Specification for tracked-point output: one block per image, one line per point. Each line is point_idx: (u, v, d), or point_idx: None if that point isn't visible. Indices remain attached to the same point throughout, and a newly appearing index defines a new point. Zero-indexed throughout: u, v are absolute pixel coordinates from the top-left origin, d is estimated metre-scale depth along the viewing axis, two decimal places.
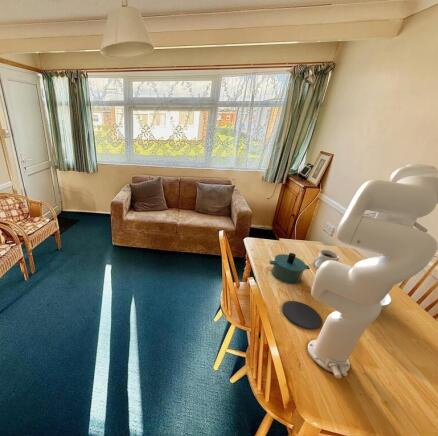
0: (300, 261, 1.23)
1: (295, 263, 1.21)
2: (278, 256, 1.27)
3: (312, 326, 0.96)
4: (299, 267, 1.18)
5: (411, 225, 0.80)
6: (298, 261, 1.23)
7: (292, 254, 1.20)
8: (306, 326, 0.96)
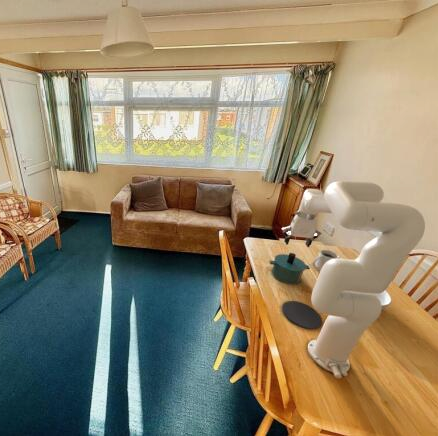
0: (300, 261, 1.23)
1: (295, 263, 1.21)
2: (278, 256, 1.27)
3: (312, 326, 0.96)
4: (299, 267, 1.18)
5: (314, 232, 1.10)
6: (298, 261, 1.23)
7: (292, 254, 1.20)
8: (306, 326, 0.96)
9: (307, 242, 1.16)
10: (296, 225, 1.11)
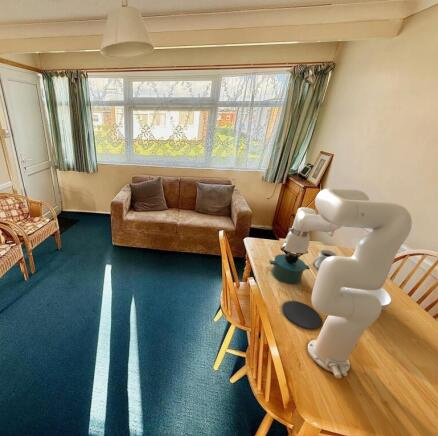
0: (300, 261, 1.23)
1: (295, 263, 1.21)
2: (278, 256, 1.27)
3: (312, 326, 0.96)
4: (299, 267, 1.18)
5: (307, 248, 1.14)
6: (298, 261, 1.23)
7: (292, 254, 1.20)
8: (306, 326, 0.96)
9: None
10: (290, 241, 1.15)
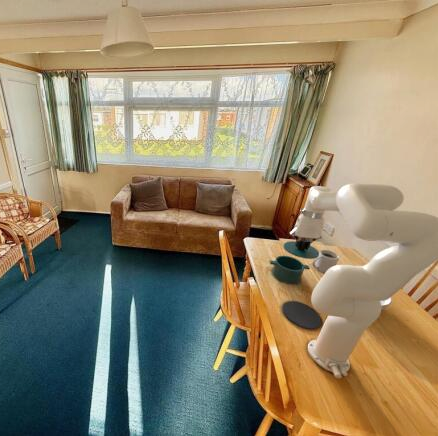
0: (312, 248, 1.11)
1: (307, 250, 1.10)
2: (287, 243, 1.16)
3: (312, 326, 0.96)
4: (311, 254, 1.07)
5: (320, 232, 1.03)
6: (310, 248, 1.11)
7: (303, 240, 1.09)
8: (306, 326, 0.96)
9: None
10: (301, 225, 1.04)
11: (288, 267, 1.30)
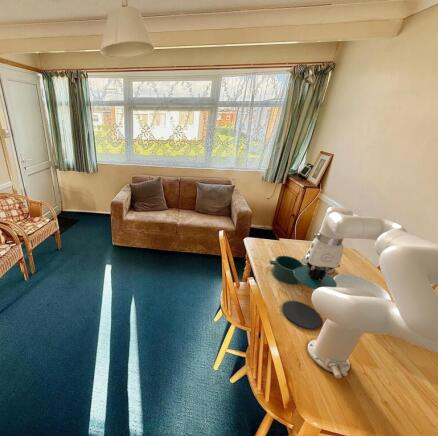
0: (327, 276, 0.95)
1: None
2: (298, 269, 0.99)
3: (312, 326, 0.96)
4: (327, 285, 0.90)
5: (339, 260, 0.86)
6: (325, 277, 0.95)
7: (318, 268, 0.92)
8: (306, 326, 0.96)
9: None
10: (316, 252, 0.87)
11: (288, 267, 1.30)
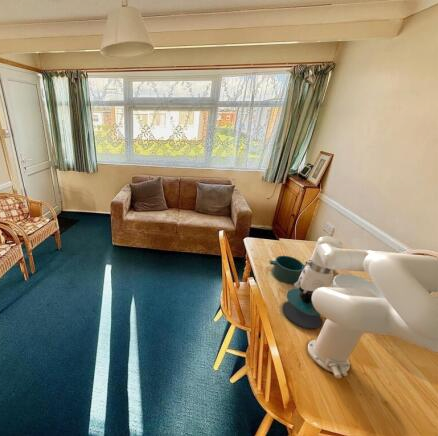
0: None
1: None
2: (291, 292, 1.04)
3: (312, 326, 0.96)
4: None
5: (329, 287, 0.91)
6: None
7: (309, 292, 0.97)
8: (306, 326, 0.96)
9: None
10: (307, 278, 0.92)
11: (288, 267, 1.30)
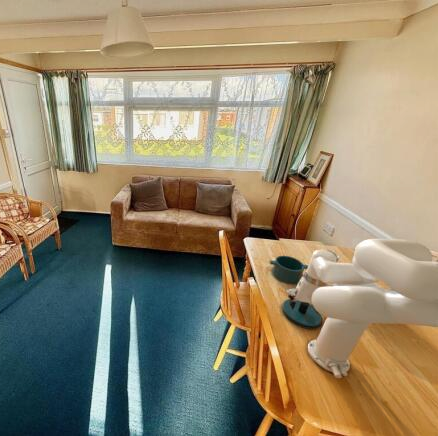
0: (314, 310, 1.02)
1: (308, 313, 1.01)
2: (287, 302, 1.06)
3: (312, 326, 0.96)
4: (313, 319, 0.97)
5: None
6: (312, 310, 1.02)
7: (305, 303, 0.99)
8: (306, 326, 0.96)
9: None
10: (303, 290, 0.94)
11: (288, 267, 1.30)
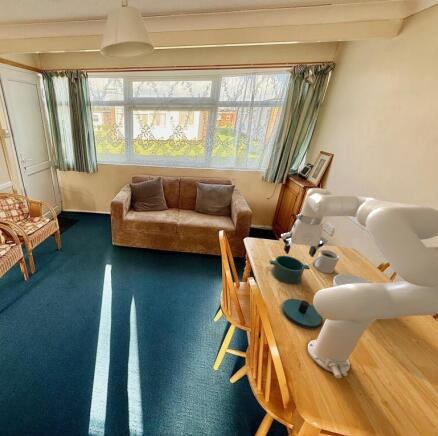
0: (314, 310, 1.02)
1: (308, 313, 1.01)
2: (287, 302, 1.06)
3: (312, 326, 0.96)
4: (313, 319, 0.97)
5: (319, 239, 0.92)
6: (312, 310, 1.02)
7: (305, 303, 0.99)
8: (306, 326, 0.96)
9: (311, 251, 0.98)
10: (297, 231, 0.93)
11: (288, 267, 1.30)
